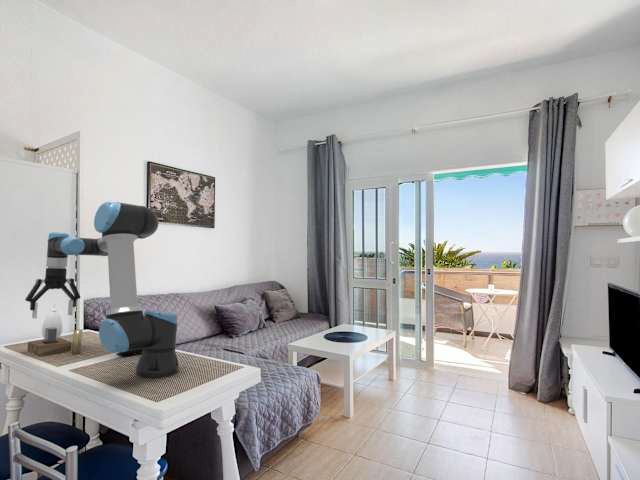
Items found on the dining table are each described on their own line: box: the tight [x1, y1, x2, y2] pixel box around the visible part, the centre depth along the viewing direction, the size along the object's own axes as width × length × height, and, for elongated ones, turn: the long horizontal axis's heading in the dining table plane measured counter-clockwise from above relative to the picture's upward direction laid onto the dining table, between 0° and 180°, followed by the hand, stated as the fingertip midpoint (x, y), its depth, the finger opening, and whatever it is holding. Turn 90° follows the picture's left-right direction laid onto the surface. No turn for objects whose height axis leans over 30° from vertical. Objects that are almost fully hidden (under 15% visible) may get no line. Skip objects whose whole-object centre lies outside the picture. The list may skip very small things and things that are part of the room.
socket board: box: [27, 337, 73, 357], centre depth 164 cm, size 12×12×4 cm
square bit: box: [43, 327, 57, 344], centre depth 164 cm, size 3×3×10 cm
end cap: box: [116, 348, 143, 357], centre depth 166 cm, size 10×7×7 cm
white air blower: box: [41, 304, 63, 340], centre depth 179 cm, size 8×8×18 cm
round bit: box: [71, 329, 84, 356], centre depth 162 cm, size 3×3×10 cm
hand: (52, 316), depth 164 cm, fingers open, 13 cm apart
